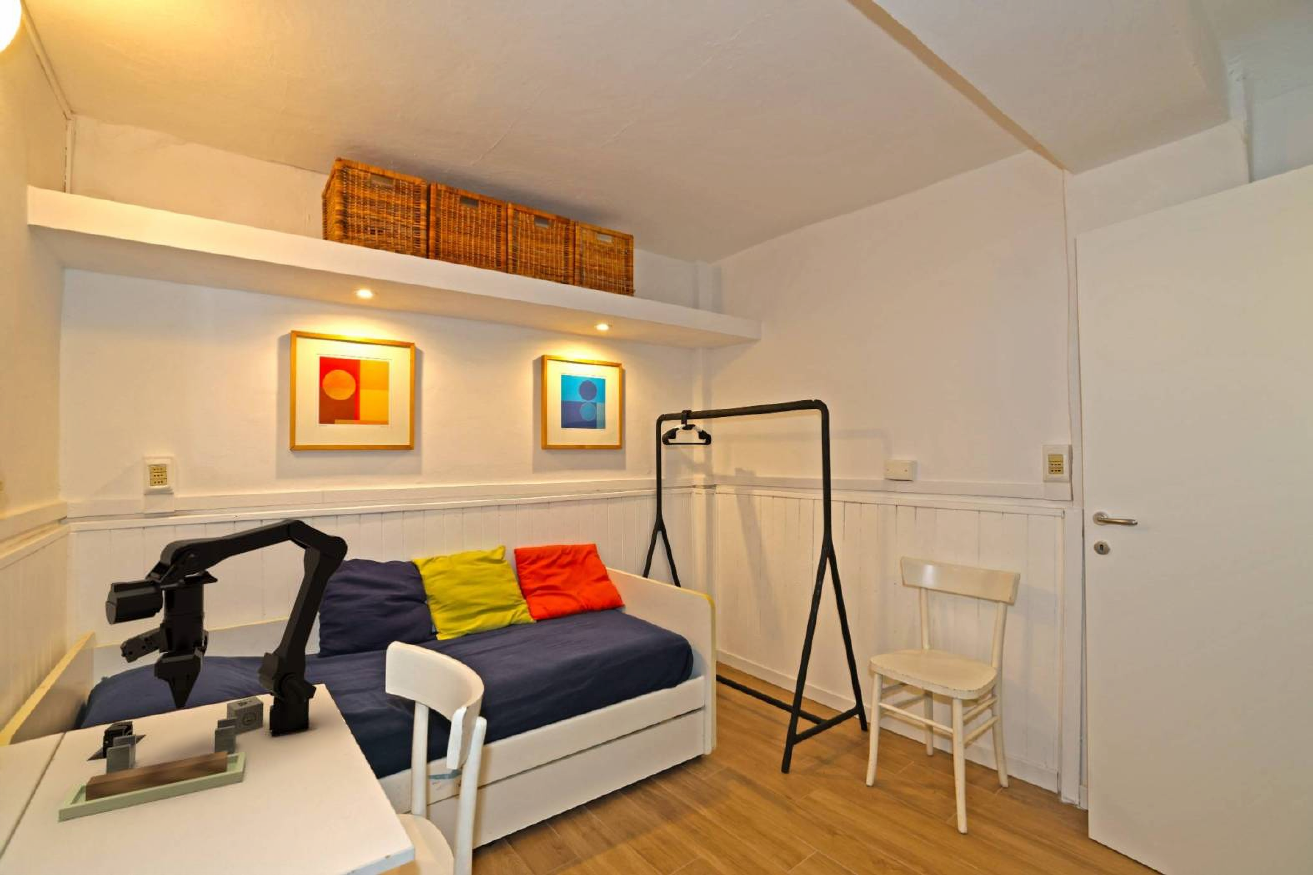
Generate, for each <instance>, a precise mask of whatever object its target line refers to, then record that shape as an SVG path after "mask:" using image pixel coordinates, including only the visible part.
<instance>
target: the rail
mask: <svg viewBox="0 0 1313 875" xmlns="http://www.w3.org/2000/svg"><path fill="white" fill-rule="evenodd" d="M227 751H228V750H227ZM227 751H222V752H217V753H214V752H211V753H208V754H202V755H197V756H192V757H187V758H181V759H176V760H171V761H166V762H161V763H157V764H156V763H155V764H151V765H145V766H140V767H135V768H132V769H129V770H124V771H119V772H114V773H109V774H106V773H104V774H100V775H95V776H93V775H92V776H91V777H90V778H89V780H88V782H86V783H87V785H86V796H85V801H90V800H95V799H100V798H105V797H109V796H114V795H119V794H124V793H129V792H133V791H138V790H143V789H148V788H153V787H157V786H162V785H167V784H172V783H176V782H181V781H186V780H191V779H196V778H200V777H205V776H210V775H215V774H220V773H224V772H226V770H227Z"/></svg>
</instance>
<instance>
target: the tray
mask: <svg viewBox="0 0 1313 875" xmlns="http://www.w3.org/2000/svg"><path fill="white" fill-rule="evenodd" d="M246 754H247V752H246V751H241V752H237V753H235V752H234V754H230V755H227V770H226V772H224V773H220V774H215V775H210V776H205V777H200V778H196V779H191V780H186V781H181V782H176V783H172V784H167V785H162V786H157V787H153V788H148V789H143V790H138V791H133V792H129V793H124V794H119V795H114V796H109V797H105V798H100V799H95V800H90V801H85V796H86V785H87V783H88V782H85V783H79V784H75V785H74V786H73V787H72V789H71V791H70V792H69V794H68V796H67V797H66V798H65V799H64V801H63V803H62V805H61V806H60V807H59V809H58V822H61V821H67V820H71V819H75V818H76V819H77V818H81V817H85V816H89V815H94V814H97V813H98V814H99V813H102V812H107V811H113V810H117V809H121V808H122V809H123V808H126V807H130V806H131V807H132V806H136V805H140V804H145V803H149V802H154V801H158V800H164V799H167V798H168V799H169V798H171V797H176V796H177V797H178V796H180V795H182V796H183V795H185V794H191V793H195V792H200V791H204V790H208V789H213V788H218V787H223V786H228V785H232V784H236V783H242V782H243V777H244V771H245V765H246V758H247V757H246Z"/></svg>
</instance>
